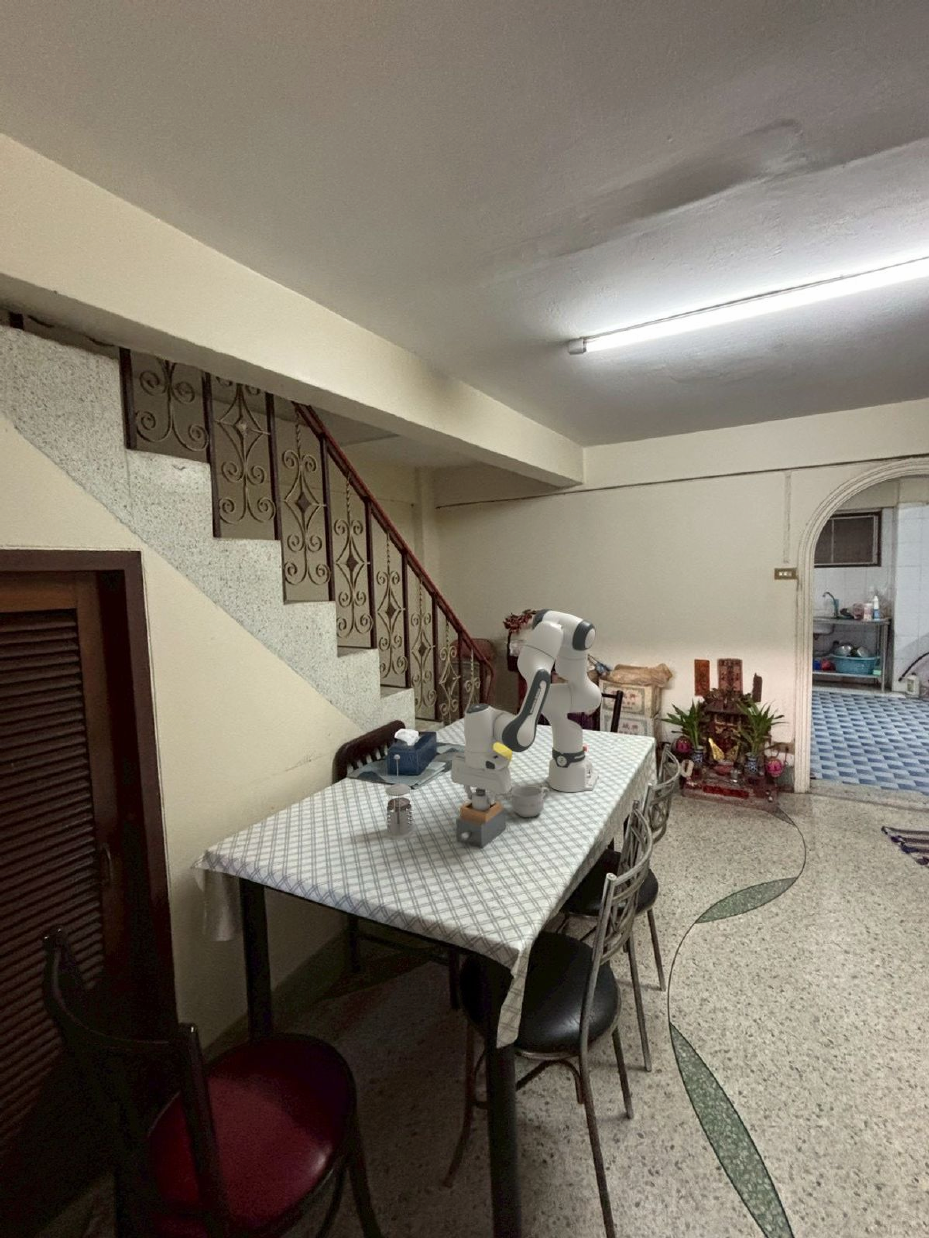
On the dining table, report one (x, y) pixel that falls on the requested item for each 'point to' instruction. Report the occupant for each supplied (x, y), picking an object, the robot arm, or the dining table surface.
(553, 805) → the dining table surface
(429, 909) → the dining table surface
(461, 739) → the dining table surface
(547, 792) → the teacup
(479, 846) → the grey box with knob
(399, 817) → the french press
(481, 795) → the light grey rounded bottle
